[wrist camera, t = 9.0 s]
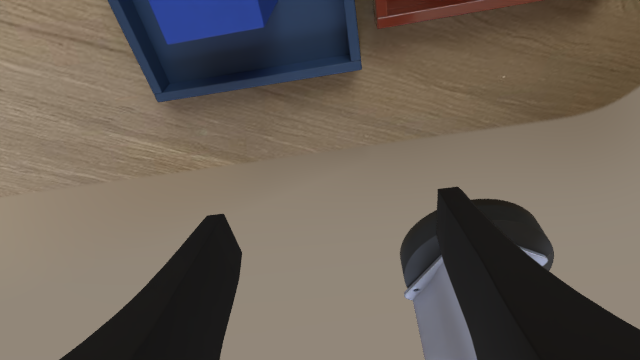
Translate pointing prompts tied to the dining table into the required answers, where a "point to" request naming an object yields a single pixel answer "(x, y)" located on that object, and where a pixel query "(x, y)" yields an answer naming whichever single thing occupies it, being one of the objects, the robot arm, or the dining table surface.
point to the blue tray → (244, 49)
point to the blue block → (209, 17)
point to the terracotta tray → (431, 9)
